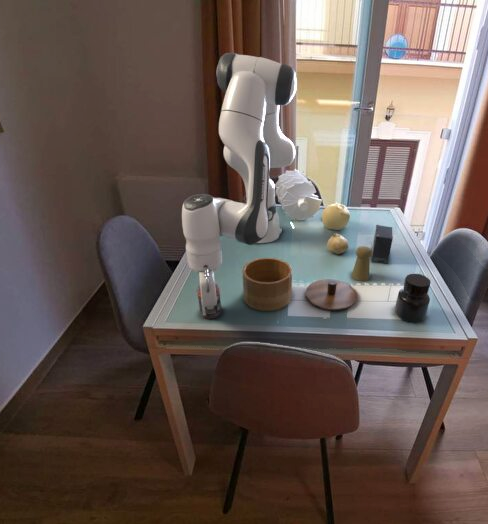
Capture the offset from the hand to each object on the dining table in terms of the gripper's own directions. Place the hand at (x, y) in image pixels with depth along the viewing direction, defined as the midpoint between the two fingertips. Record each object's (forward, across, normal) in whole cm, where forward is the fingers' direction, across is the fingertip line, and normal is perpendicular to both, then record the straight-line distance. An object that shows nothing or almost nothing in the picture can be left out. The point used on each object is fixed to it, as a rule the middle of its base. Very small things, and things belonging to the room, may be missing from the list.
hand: (209, 299), depth 100 cm
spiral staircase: (+5, +68, -43) cm, 80 cm away
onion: (+5, +27, -49) cm, 56 cm away
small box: (+5, +21, -64) cm, 67 cm away
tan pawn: (+5, +9, -51) cm, 52 cm away
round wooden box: (+5, +5, -17) cm, 19 cm away
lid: (+4, 0, -37) cm, 37 cm away
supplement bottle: (+5, 0, 0) cm, 5 cm away
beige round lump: (+5, +49, -56) cm, 74 cm away
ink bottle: (+5, -13, -57) cm, 58 cm away
